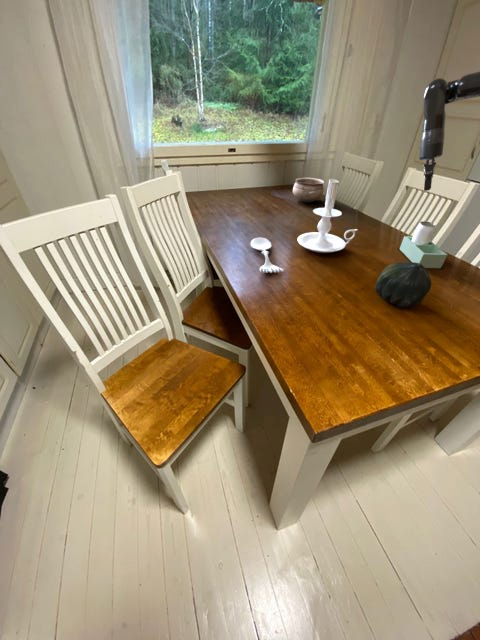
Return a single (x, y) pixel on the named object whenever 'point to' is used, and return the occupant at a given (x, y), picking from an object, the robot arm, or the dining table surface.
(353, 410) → the dining table surface
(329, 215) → the candlestick
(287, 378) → the dining table surface
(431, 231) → the can
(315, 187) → the cooking pot
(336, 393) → the dining table surface
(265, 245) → the spoon
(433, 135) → the robot arm
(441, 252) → the divided box
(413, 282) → the squash
